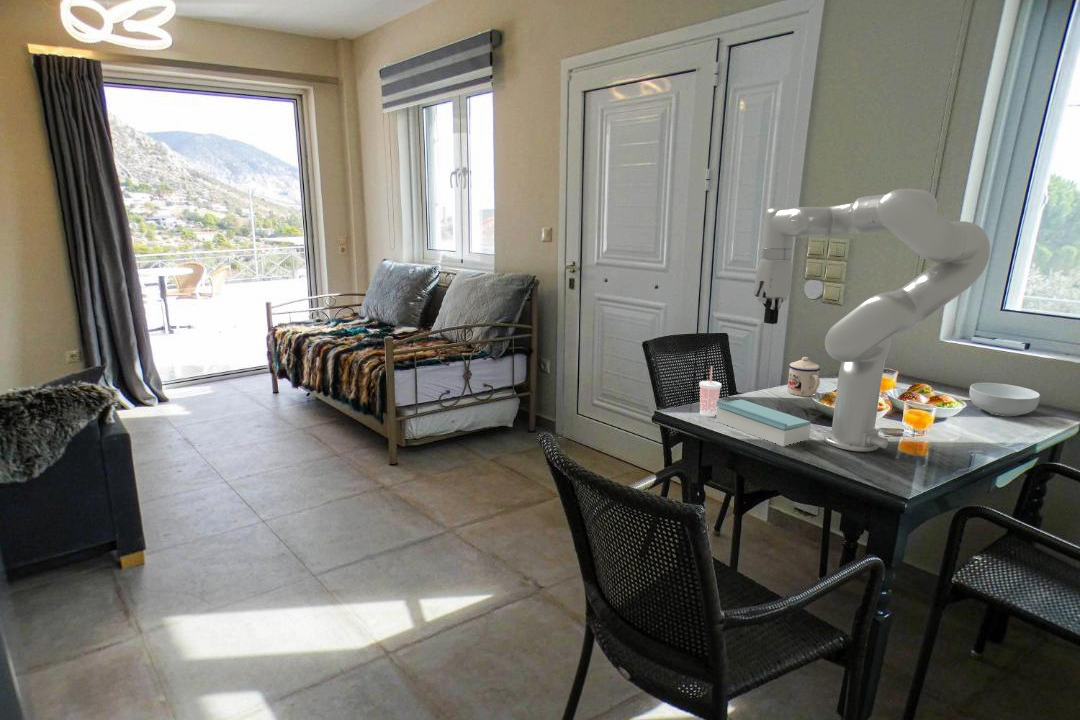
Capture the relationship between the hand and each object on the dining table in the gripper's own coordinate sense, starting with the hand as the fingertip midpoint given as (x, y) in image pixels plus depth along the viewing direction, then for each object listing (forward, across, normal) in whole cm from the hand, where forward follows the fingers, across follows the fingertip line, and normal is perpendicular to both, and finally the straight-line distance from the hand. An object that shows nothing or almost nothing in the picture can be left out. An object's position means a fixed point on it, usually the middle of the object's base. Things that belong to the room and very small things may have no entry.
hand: (770, 323), depth 175 cm
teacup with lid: (+27, -30, -8) cm, 41 cm away
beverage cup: (+27, +12, -9) cm, 31 cm away
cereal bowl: (+27, -64, +33) cm, 77 cm away
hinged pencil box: (+27, +10, +8) cm, 29 cm away
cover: (+23, +10, +8) cm, 26 cm away
